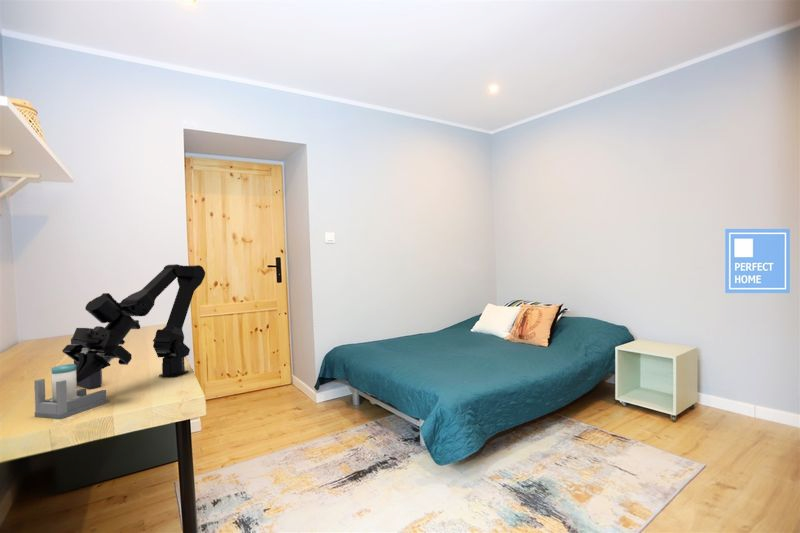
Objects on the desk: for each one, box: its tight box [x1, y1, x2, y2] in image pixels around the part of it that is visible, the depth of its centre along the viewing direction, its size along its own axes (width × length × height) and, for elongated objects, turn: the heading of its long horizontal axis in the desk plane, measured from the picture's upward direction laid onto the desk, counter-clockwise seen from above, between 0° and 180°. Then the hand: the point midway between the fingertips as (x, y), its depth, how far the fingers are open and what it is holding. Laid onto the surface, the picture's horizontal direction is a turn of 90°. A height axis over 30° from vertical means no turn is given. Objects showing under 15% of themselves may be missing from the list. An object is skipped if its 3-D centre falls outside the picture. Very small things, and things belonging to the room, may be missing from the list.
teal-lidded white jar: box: [49, 363, 80, 403], centre depth 101 cm, size 5×5×10 cm
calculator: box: [70, 337, 103, 390], centre depth 124 cm, size 11×4×15 cm, turn 59°
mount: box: [33, 378, 110, 420], centre depth 103 cm, size 12×9×9 cm
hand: (75, 381), depth 103 cm, fingers closed, pressing on teal-lidded white jar
